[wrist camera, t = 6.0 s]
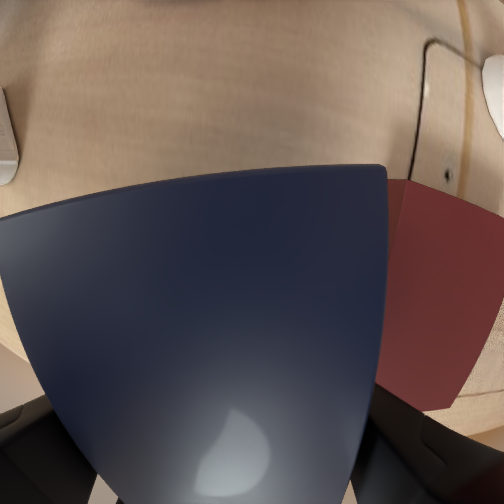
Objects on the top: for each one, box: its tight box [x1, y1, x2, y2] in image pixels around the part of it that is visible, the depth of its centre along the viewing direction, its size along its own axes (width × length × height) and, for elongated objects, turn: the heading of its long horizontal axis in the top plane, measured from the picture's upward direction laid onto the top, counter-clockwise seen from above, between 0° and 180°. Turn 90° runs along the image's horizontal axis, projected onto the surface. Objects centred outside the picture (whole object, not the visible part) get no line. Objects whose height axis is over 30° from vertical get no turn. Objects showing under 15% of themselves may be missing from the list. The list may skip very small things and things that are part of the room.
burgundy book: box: [375, 179, 504, 412], centre depth 16 cm, size 15×11×3 cm
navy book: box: [0, 164, 389, 504], centre depth 6 cm, size 11×6×4 cm, turn 5°
